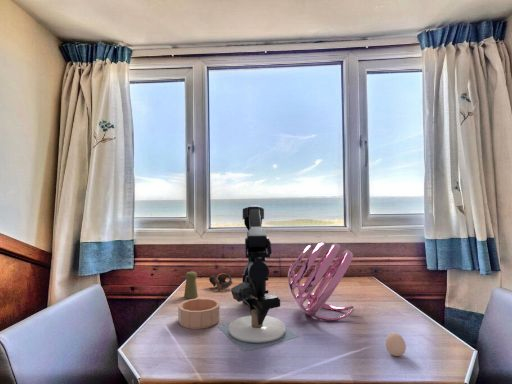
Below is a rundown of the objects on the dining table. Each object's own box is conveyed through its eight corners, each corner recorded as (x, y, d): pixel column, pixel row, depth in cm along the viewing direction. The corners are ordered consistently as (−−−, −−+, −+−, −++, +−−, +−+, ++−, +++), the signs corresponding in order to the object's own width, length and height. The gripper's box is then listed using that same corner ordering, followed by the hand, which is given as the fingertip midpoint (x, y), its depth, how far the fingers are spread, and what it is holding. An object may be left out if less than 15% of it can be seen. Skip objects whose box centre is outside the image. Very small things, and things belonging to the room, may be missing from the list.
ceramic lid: (266, 315, 111) (266, 297, 112) (296, 334, 96) (296, 313, 96) (220, 325, 103) (220, 306, 103) (244, 347, 87) (244, 325, 87)
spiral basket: (382, 259, 119) (322, 219, 125) (378, 297, 94) (303, 244, 101) (342, 307, 130) (289, 268, 137) (329, 352, 105) (264, 302, 112)
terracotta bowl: (211, 312, 118) (211, 296, 118) (226, 324, 106) (226, 307, 106) (174, 319, 111) (174, 302, 111) (185, 333, 99) (185, 314, 99)
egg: (410, 358, 83) (409, 336, 83) (393, 361, 82) (393, 338, 82) (397, 349, 88) (397, 328, 88) (381, 351, 87) (381, 330, 87)
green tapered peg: (194, 299, 133) (194, 273, 133) (181, 298, 134) (181, 273, 135) (200, 295, 139) (200, 270, 139) (187, 294, 140) (187, 270, 141)
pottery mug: (233, 286, 154) (235, 274, 151) (227, 300, 146) (228, 287, 142) (211, 279, 157) (212, 267, 153) (203, 292, 148) (204, 280, 145)
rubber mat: (267, 317, 112) (267, 316, 112) (299, 338, 95) (299, 336, 96) (218, 328, 103) (218, 327, 103) (244, 353, 86) (244, 351, 86)
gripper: (222, 270, 104) (222, 317, 103) (248, 283, 88) (248, 339, 87) (251, 267, 109) (251, 311, 109) (281, 278, 93) (281, 331, 93)
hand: (257, 322), depth 99 cm, fingers closed on ceramic lid, 4 cm apart
